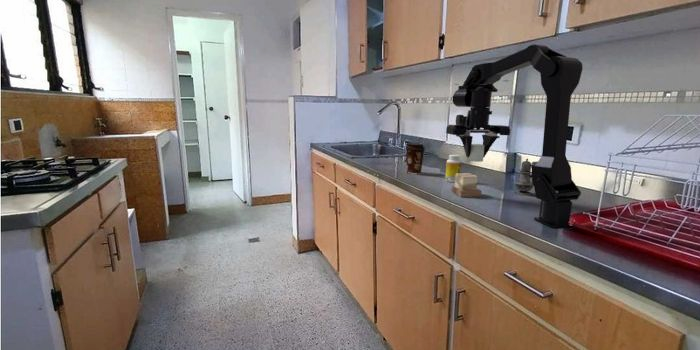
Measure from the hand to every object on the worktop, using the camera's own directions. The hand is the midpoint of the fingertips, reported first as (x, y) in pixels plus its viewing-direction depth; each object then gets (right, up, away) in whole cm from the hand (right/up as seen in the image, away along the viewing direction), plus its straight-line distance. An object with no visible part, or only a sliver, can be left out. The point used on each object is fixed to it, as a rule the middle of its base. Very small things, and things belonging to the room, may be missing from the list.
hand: (475, 157), depth 107 cm
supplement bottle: (0, -8, +25) cm, 27 cm away
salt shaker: (+18, -12, +6) cm, 23 cm away
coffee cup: (-12, -5, +41) cm, 43 cm away
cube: (-2, -10, +4) cm, 11 cm away
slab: (-2, -13, +4) cm, 13 cm away
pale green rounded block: (0, -1, 0) cm, 1 cm away
